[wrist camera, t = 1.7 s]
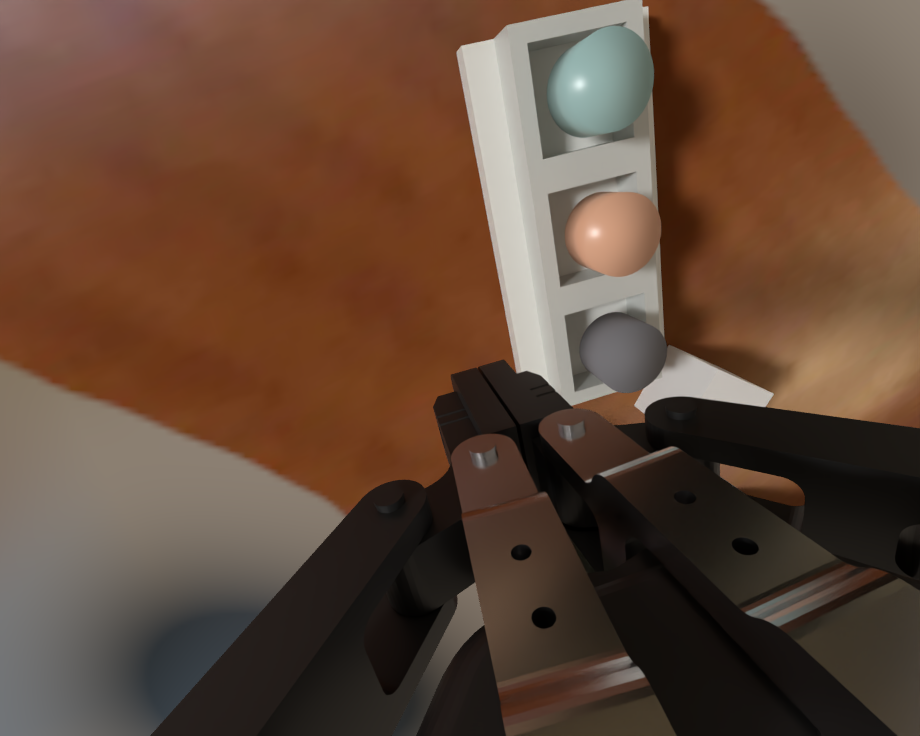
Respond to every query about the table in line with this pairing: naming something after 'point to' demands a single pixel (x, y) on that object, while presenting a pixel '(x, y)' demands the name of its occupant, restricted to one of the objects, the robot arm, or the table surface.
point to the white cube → (700, 383)
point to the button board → (554, 193)
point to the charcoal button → (623, 351)
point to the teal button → (601, 83)
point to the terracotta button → (613, 232)
